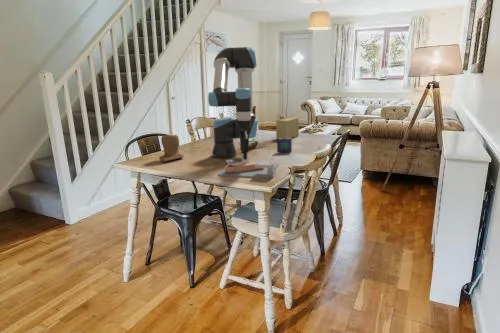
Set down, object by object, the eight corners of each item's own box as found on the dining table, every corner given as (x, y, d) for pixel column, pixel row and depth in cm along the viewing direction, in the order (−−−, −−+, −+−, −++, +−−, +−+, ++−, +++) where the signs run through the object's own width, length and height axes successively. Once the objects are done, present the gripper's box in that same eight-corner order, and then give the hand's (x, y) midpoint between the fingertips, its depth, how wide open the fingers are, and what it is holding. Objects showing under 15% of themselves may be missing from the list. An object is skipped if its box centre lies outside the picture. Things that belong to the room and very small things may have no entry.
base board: (217, 175, 171) (217, 174, 171) (233, 162, 195) (233, 161, 195) (268, 178, 164) (268, 177, 164) (278, 164, 189) (278, 163, 188)
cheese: (293, 135, 278) (293, 116, 274) (303, 136, 271) (303, 117, 267) (275, 139, 262) (275, 119, 258) (285, 140, 256) (286, 120, 252)
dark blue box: (291, 151, 220) (291, 135, 217) (292, 152, 217) (292, 135, 214) (276, 152, 219) (276, 135, 216) (277, 153, 216) (277, 136, 213)
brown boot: (174, 155, 216) (173, 132, 212) (186, 158, 208) (185, 134, 204) (154, 160, 205) (151, 135, 201) (165, 163, 197) (163, 137, 193)
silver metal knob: (224, 166, 172) (224, 161, 171) (227, 164, 176) (227, 159, 175) (232, 166, 171) (232, 161, 170) (234, 164, 175) (234, 159, 174)
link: (226, 173, 171) (226, 168, 170) (223, 171, 176) (223, 165, 175) (264, 168, 178) (264, 163, 177) (260, 166, 183) (260, 161, 182)
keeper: (255, 177, 167) (254, 164, 165) (258, 172, 175) (258, 160, 173) (272, 178, 165) (272, 165, 163) (275, 173, 172) (275, 161, 171)
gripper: (234, 118, 178) (235, 162, 185) (239, 121, 166) (240, 168, 172) (248, 117, 180) (249, 161, 186) (254, 120, 168) (254, 167, 174)
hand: (244, 164), depth 179 cm, fingers closed
